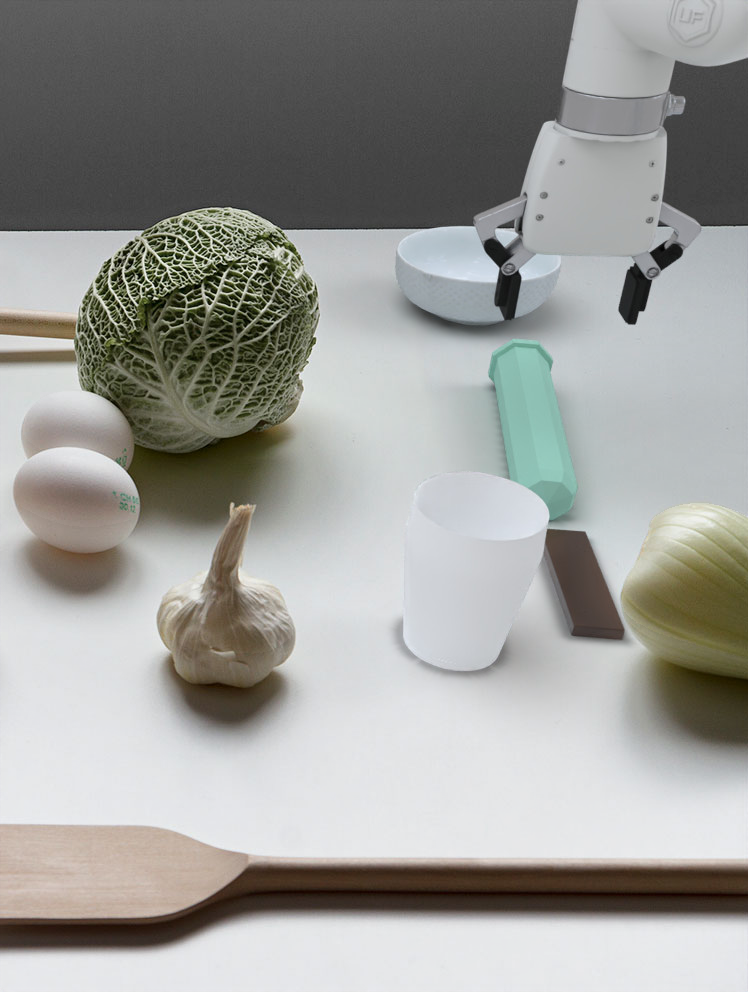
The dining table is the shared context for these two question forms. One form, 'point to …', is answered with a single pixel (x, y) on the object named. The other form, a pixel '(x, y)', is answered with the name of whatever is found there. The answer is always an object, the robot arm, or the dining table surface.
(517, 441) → the container
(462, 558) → the cup
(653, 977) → the dining table surface
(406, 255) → the cereal bowl
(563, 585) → the walnut strip
